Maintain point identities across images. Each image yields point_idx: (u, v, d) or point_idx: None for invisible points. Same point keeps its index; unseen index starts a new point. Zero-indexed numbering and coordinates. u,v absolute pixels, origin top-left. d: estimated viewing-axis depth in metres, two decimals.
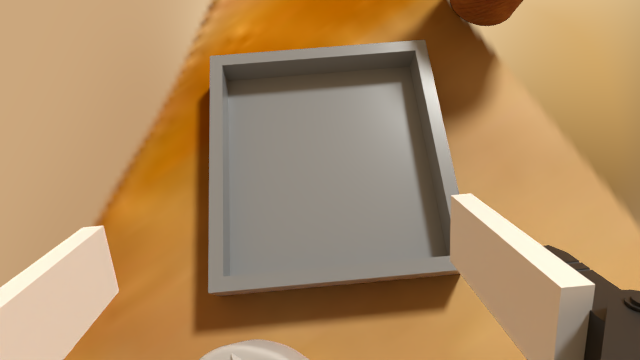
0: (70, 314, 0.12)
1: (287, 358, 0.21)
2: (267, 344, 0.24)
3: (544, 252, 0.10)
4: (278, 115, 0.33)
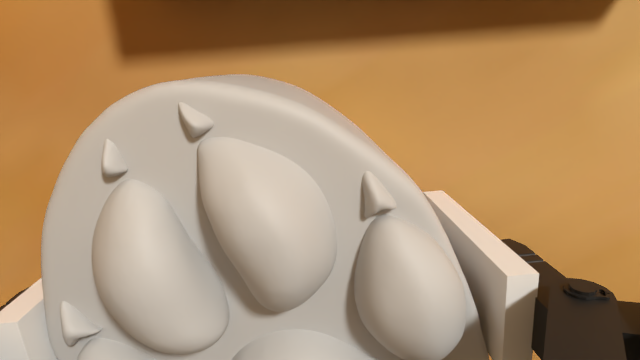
0: None
1: (322, 115, 0.09)
2: (265, 82, 0.11)
3: (499, 244, 0.11)
4: None
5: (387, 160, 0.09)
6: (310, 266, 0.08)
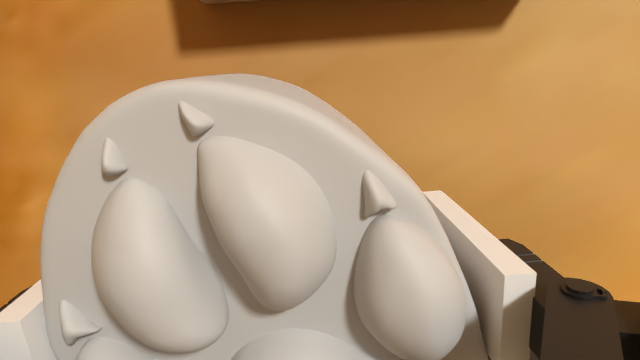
0: None
1: (322, 114, 0.09)
2: (265, 82, 0.11)
3: (497, 244, 0.11)
4: None
5: (387, 160, 0.09)
6: (310, 265, 0.08)
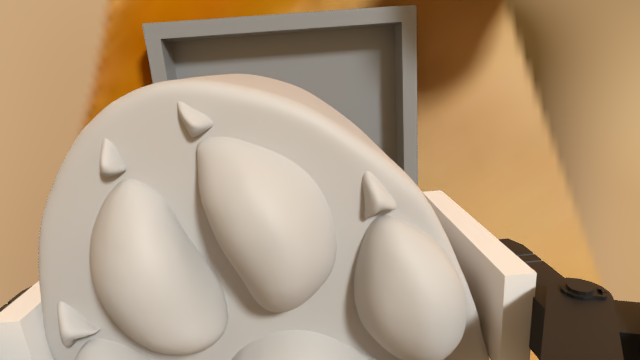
0: None
1: (322, 115, 0.09)
2: (264, 82, 0.11)
3: (497, 244, 0.11)
4: None
5: (387, 160, 0.09)
6: (310, 266, 0.08)
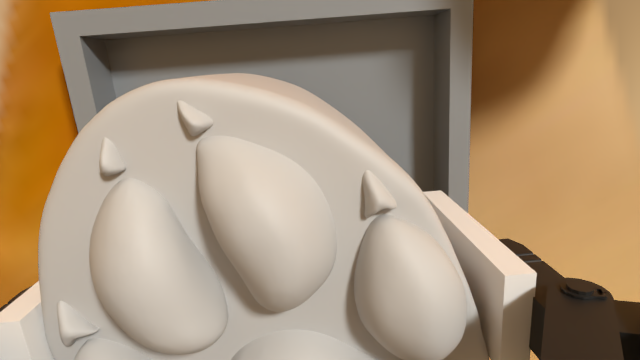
0: None
1: (322, 114, 0.09)
2: (265, 81, 0.11)
3: (497, 244, 0.11)
4: None
5: (387, 159, 0.09)
6: (310, 265, 0.08)
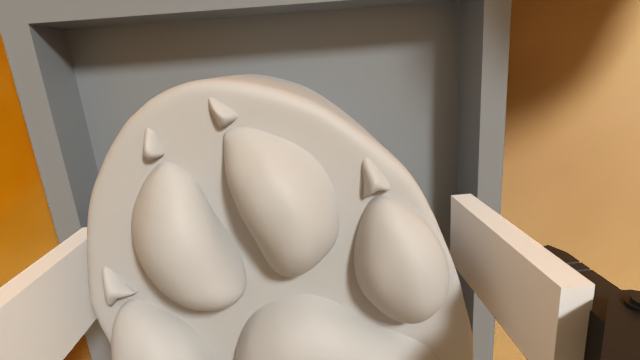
0: (70, 314, 0.12)
1: (328, 110, 0.10)
2: (277, 82, 0.13)
3: (544, 252, 0.10)
4: None
5: (383, 149, 0.11)
6: (317, 235, 0.10)
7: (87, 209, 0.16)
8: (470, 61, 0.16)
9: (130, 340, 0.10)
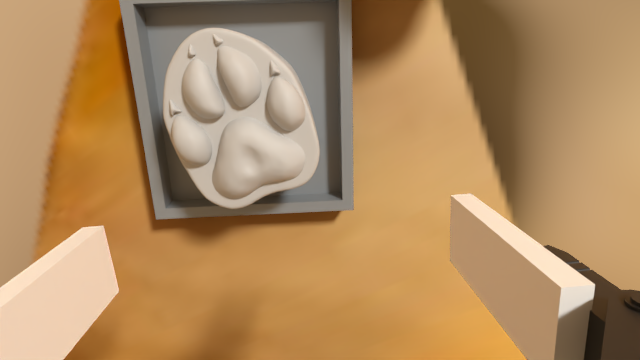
0: (70, 314, 0.12)
1: (257, 41, 0.28)
2: None
3: (544, 252, 0.10)
4: None
5: (279, 58, 0.28)
6: (250, 85, 0.27)
7: (151, 96, 0.33)
8: (338, 31, 0.33)
9: (180, 125, 0.28)
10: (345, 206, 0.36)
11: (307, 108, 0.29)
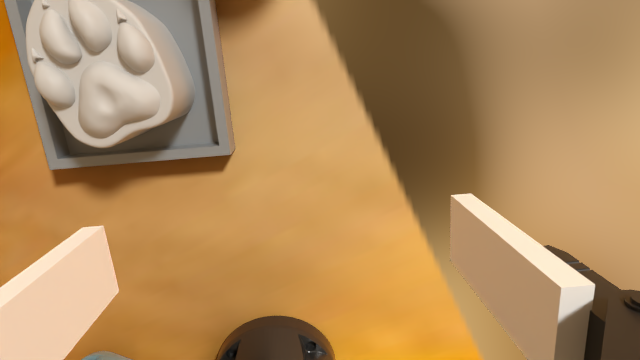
0: (70, 314, 0.12)
1: None
2: None
3: (544, 252, 0.10)
4: None
5: (125, 7, 0.32)
6: (96, 29, 0.31)
7: None
8: None
9: (39, 69, 0.31)
10: (222, 151, 0.40)
11: (156, 51, 0.32)
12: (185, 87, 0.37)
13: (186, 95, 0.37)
